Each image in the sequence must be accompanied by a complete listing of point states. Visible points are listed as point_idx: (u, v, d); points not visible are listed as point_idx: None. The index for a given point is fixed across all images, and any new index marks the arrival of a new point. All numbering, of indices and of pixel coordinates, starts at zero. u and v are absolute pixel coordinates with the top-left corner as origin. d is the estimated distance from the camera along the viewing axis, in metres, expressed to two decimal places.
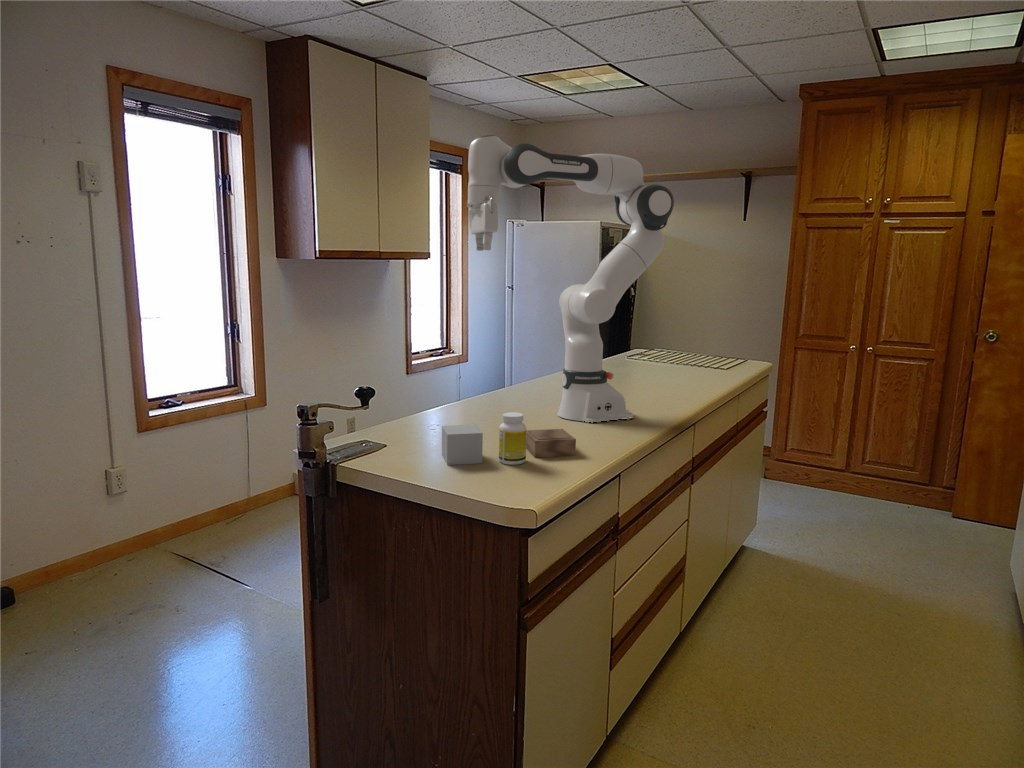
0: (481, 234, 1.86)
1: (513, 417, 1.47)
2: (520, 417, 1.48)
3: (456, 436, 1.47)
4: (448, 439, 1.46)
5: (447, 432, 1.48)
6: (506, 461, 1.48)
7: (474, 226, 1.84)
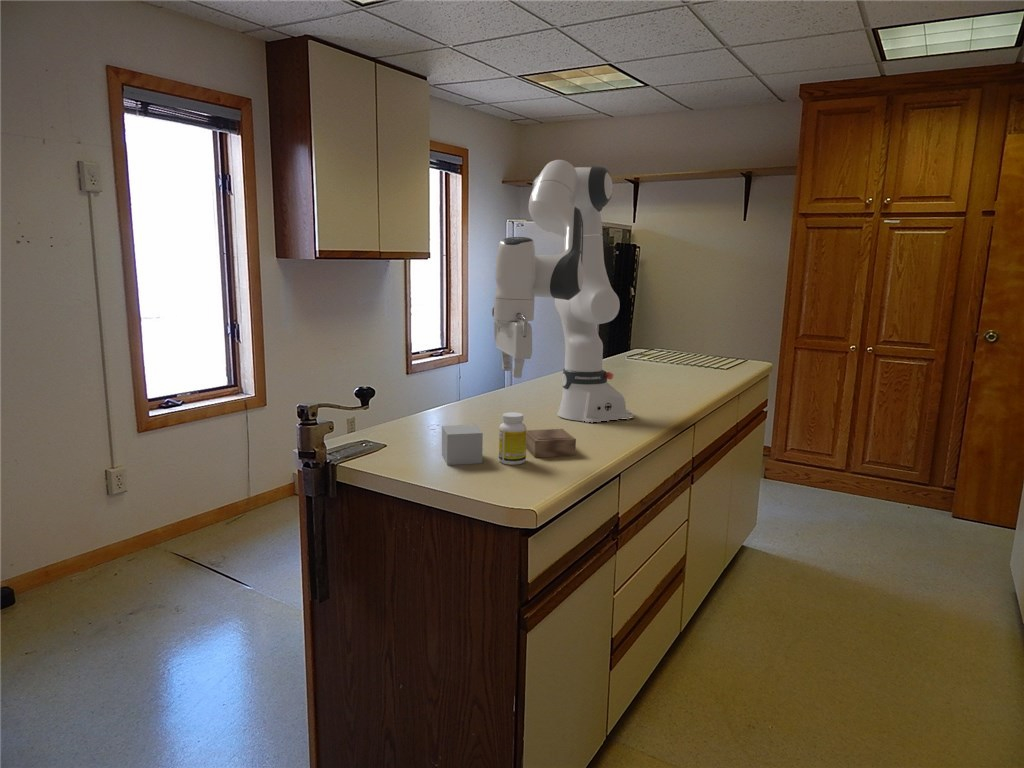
0: None
1: (513, 417, 1.47)
2: (520, 417, 1.48)
3: (456, 436, 1.47)
4: (448, 439, 1.46)
5: (447, 432, 1.48)
6: (506, 461, 1.48)
7: (500, 342, 1.50)
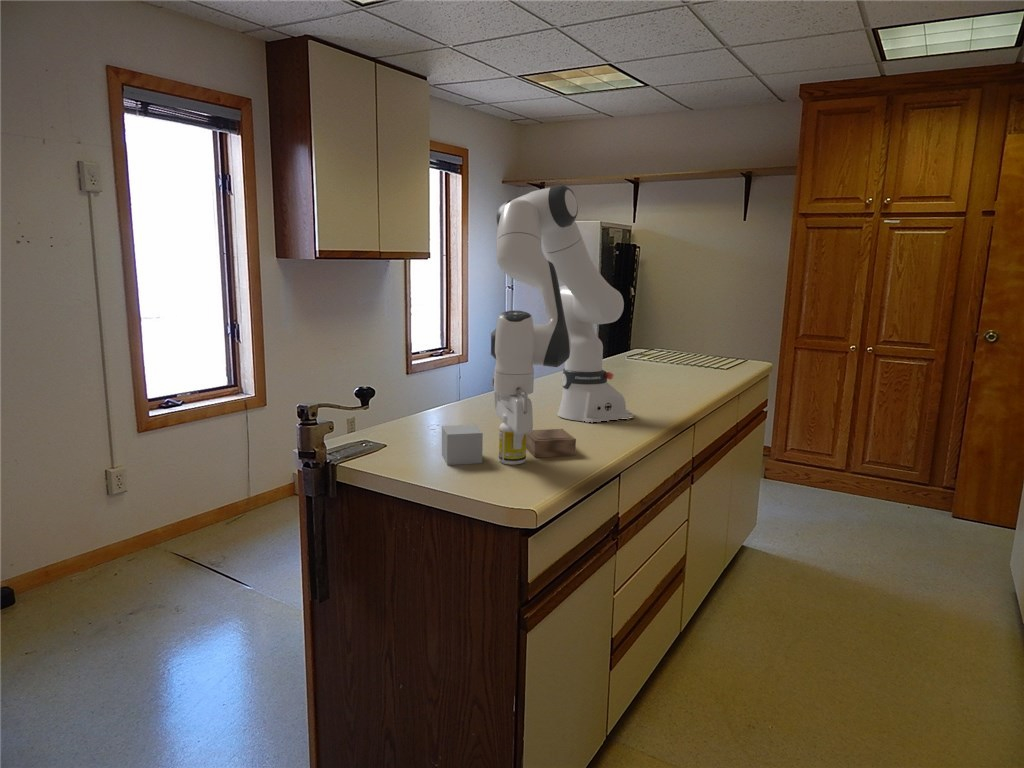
0: None
1: None
2: None
3: (456, 436, 1.47)
4: (448, 439, 1.46)
5: (447, 432, 1.48)
6: (506, 461, 1.48)
7: (501, 412, 1.52)
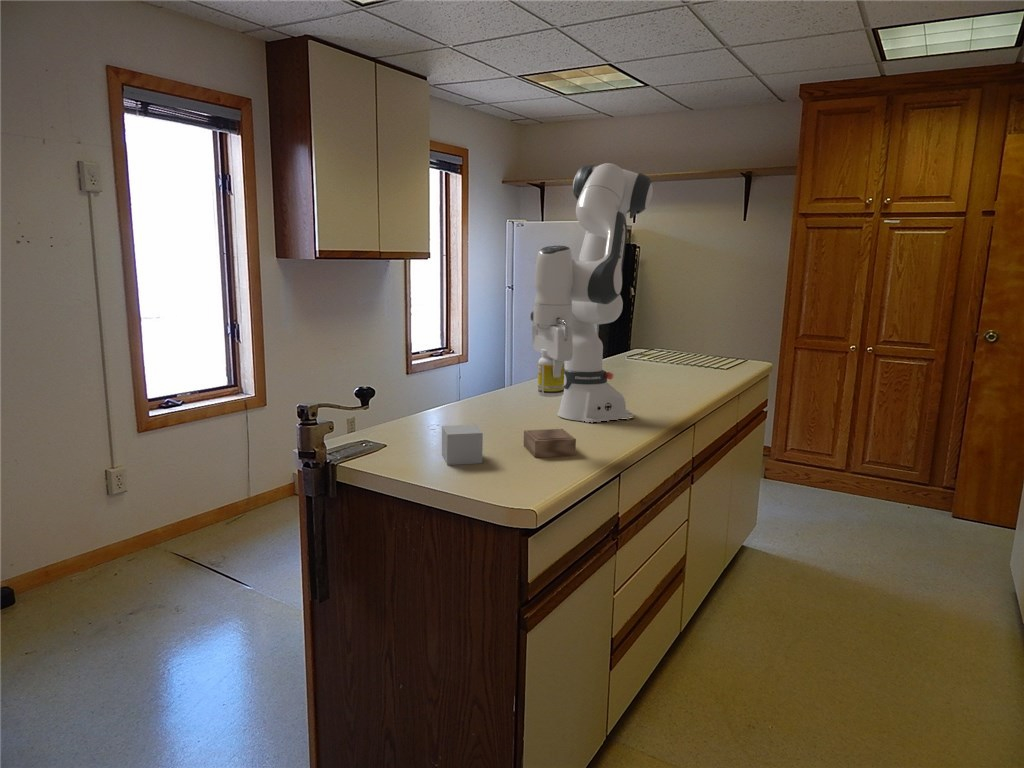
0: None
1: None
2: None
3: (456, 436, 1.47)
4: (448, 439, 1.46)
5: (447, 432, 1.48)
6: (545, 394, 1.55)
7: (539, 345, 1.59)
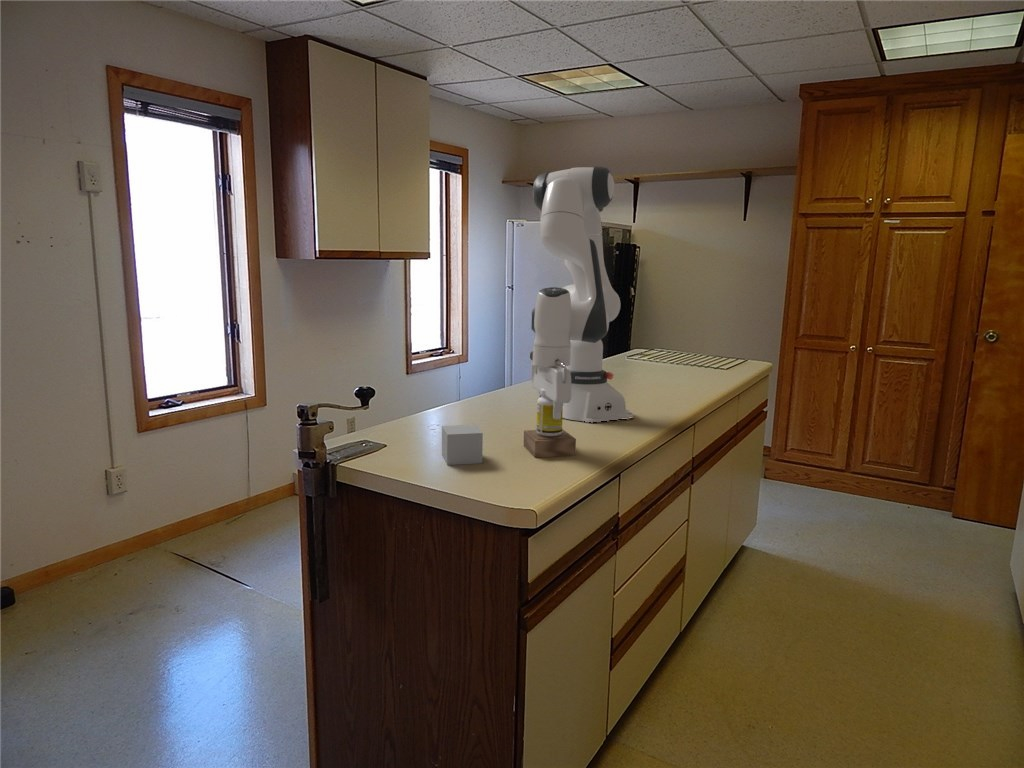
0: None
1: None
2: None
3: (456, 436, 1.47)
4: (448, 439, 1.46)
5: (447, 432, 1.48)
6: (543, 433, 1.57)
7: (538, 384, 1.61)
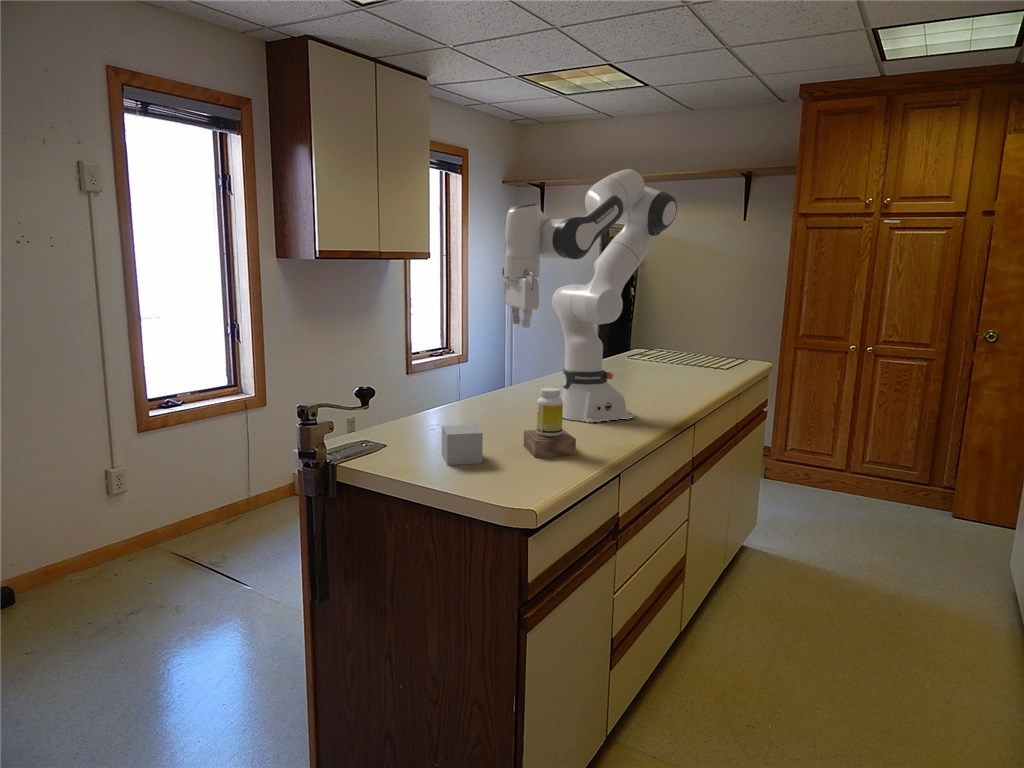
0: None
1: (551, 391, 1.56)
2: (557, 391, 1.56)
3: (456, 436, 1.47)
4: (448, 439, 1.46)
5: (447, 432, 1.48)
6: (543, 433, 1.57)
7: (510, 298, 1.70)
